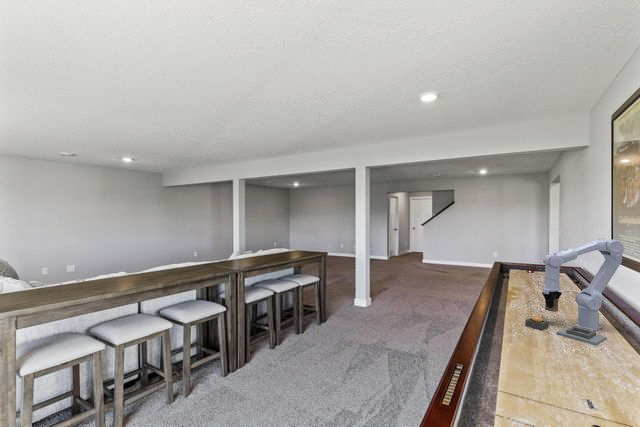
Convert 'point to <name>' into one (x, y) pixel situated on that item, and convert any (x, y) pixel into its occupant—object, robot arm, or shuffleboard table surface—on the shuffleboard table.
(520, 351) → the shuffleboard table surface
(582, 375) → the shuffleboard table surface
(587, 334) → the board
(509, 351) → the shuffleboard table surface
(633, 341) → the shuffleboard table surface
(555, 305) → the block
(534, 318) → the button
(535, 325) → the control box
